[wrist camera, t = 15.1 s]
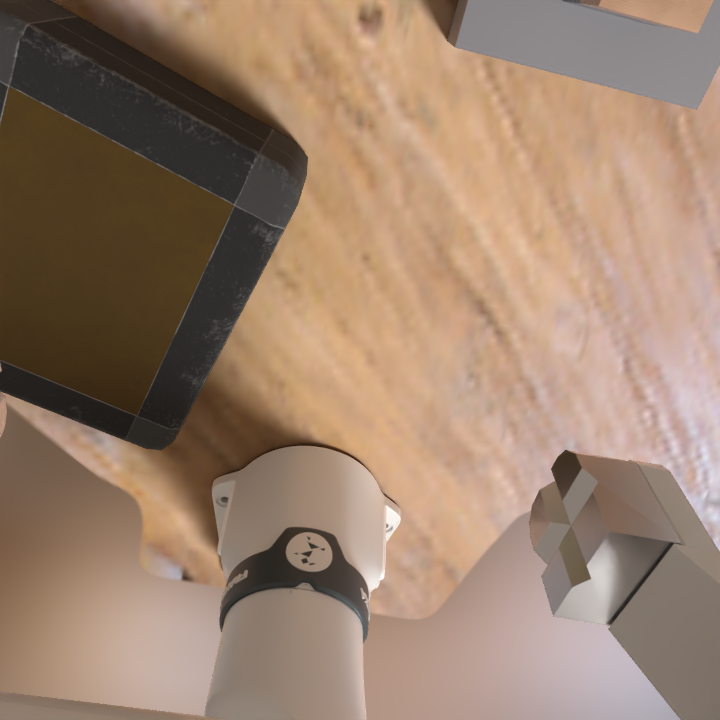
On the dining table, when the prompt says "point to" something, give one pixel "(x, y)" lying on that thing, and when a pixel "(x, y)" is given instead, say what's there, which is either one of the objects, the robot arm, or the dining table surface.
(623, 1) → the block
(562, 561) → the robot arm
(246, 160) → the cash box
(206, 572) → the dining table surface
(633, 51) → the stand
